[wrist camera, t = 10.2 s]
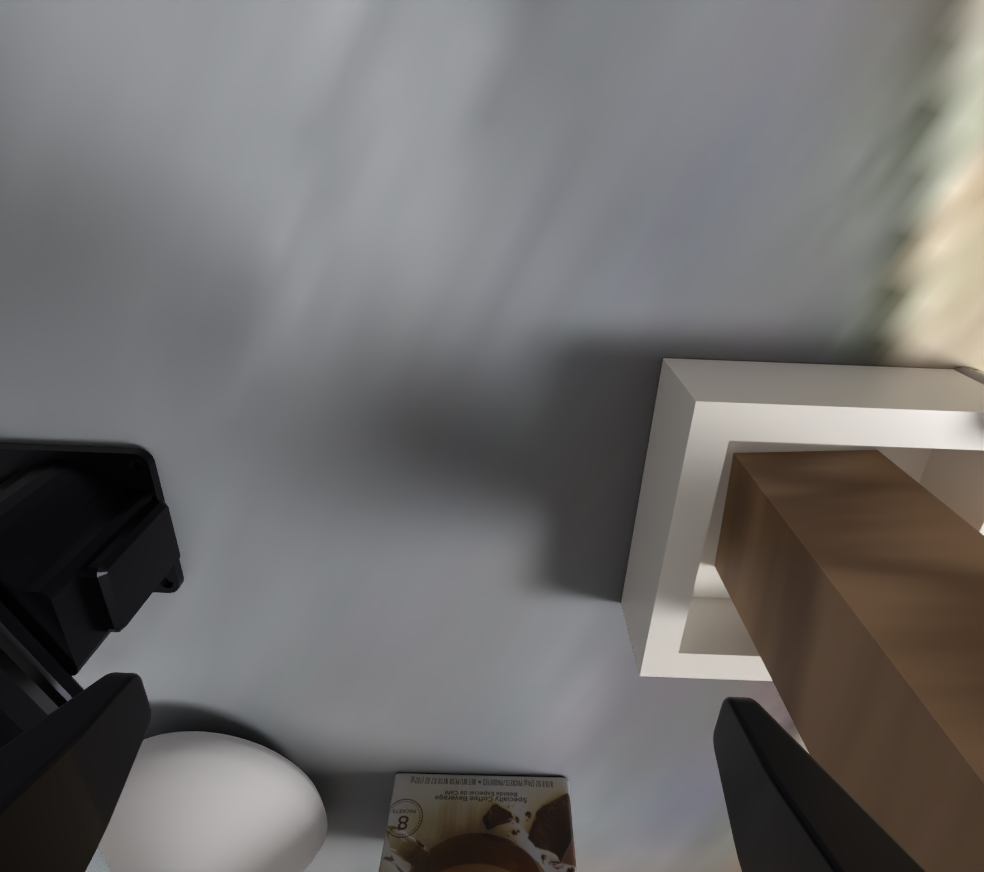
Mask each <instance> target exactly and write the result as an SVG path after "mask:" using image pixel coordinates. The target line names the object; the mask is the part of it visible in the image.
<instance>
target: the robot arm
mask: <svg viewBox="0 0 984 872" xmlns="http://www.w3.org/2000/svg"><path fill="white" fill-rule="evenodd" d="M135 460H138V461H139V462H140V463H141V464H142V466H139V465H138V464H136V462H135ZM179 558H180V553H179V548H178V544H177V540H176V536H175V532H174V528H173V524H172V520H171V516H170V512H169V508H168V506H167V505H166V503H165V500H164V496H163V492H162V488H161V484H160V480H159V476H158V472H157V468H156V464H155V460H154V458H153V456H152V455H151V454H150V453H149V452H147V451H145V450H143V449H135V448H109V447H83V446H57V445H31V444H5V443H0V872H85V871H86V869H87V867H88V865H89V863H90V861H91V859H92V857H93V855H94V853H95V851H96V849H97V847H98V845H99V843H100V841H101V839H102V837H103V835H104V833H105V831H106V829H107V826H108V824H109V822H110V820H111V817H112V815H113V813H114V810H115V808H116V805H117V803H118V800H119V798H120V795H121V793H122V791H123V788H124V786H125V783H126V781H127V778H128V776H129V773H130V771H131V768H132V766H133V764H134V761H135V759H136V756H137V754H138V751H139V749H140V746H141V744H142V741H143V739H144V737H145V734H146V732H147V729H148V727H149V723H150V719H151V708H150V705H149V701H148V698H147V695H146V692H145V689H144V686H143V682H142V679H141V677H140V676H139V675H137V674H135V673H117V672H116V673H110V674H107V675H105V676H104V677H102V678H101V679H99V680H98V681H96V682H95V683H93V684H92V685H90V686H89V687H88V688H86V689H85V690H84V689H83V688H82V687H81V686H80V685H79V683H78V682H77V681H76V680H75V679H74V678H73V677H72V676H74V675H76V674H77V673H78V672H79V671H80V669H81V668H82V667H83V666H84V664H85V663H86V662H87V661H88V659H89V658H90V657H91V656H92V655H93V653H94V652H95V651H96V650H97V648H98V647H99V646H100V645H101V643H102V642H103V641H104V640H105V638H106V637H107V636H108V635H109V633H110V632H120V631H121V630H122V629H123V628H124V627H126V626H127V624H128V623H129V622H130V621H131V619H132V618H133V617H134V615H135V614H136V613H137V612H138V610H139V609H140V608H141V606H142V605H143V604H144V603H145V601H146V600H147V599H148V598H149V596H150V595H151V594H152V592H161V593H172V592H175V591H177V590H178V588H179V587H180V586H181V584H182V583H183V581H184V577H183V573H182V569H181V565H180V561H179ZM167 579H169V580H171V581H169V580H167ZM713 743H714V750H715V755H716V760H717V764H718V769H719V774H720V778H721V783H722V787H723V792H724V797H725V801H726V806H727V811H728V815H729V820H730V825H731V829H732V834H733V839H734V843H735V847H736V851H737V855H738V859H739V862H740V866H741V869H742V872H926V871H925V870H924V869H923V868H922V867H921V866H920V865H919V864H918V863H917V862H916V861H915V860H914V859H913V858H912V857H911V856H910V855H909V854H908V853H907V852H906V851H905V850H904V849H903V848H902V847H901V846H900V845H899V844H898V843H897V842H896V841H895V840H894V839H893V838H892V837H891V836H890V835H889V834H888V833H887V832H886V831H885V830H884V829H883V828H882V827H881V826H880V825H879V824H878V823H877V822H876V821H875V820H874V819H873V818H872V817H871V816H870V815H869V814H868V813H867V812H866V811H865V810H864V809H863V808H862V807H861V806H860V805H859V804H858V803H857V802H856V801H855V800H854V799H853V798H852V797H851V796H850V795H849V794H848V793H847V792H846V791H845V790H844V789H843V788H842V787H841V786H840V785H839V784H838V783H837V782H836V781H835V780H834V779H833V778H832V777H831V776H830V775H829V774H828V773H827V772H826V771H825V770H824V769H823V768H822V767H821V766H820V765H819V764H818V763H817V762H816V761H815V760H814V759H813V758H812V757H811V756H810V755H809V754H808V753H807V752H806V751H805V750H804V749H803V748H802V747H801V746H800V745H799V744H798V743H797V742H796V741H795V740H794V739H793V738H792V737H791V736H790V735H789V734H788V733H787V732H786V731H785V730H784V729H783V728H782V727H781V726H780V725H779V724H778V723H777V722H776V721H775V720H774V719H773V717H772V716H771V715H770V714H769V713H768V712H767V711H766V710H765V709H764V708H763V707H762V706H761V705H760V704H759V703H757V702H756V701H755V700H753V699H751V698H742V697H727V698H726V699H725V700H724V701H723V703H722V706H721V710H720V713H719V716H718V720H717V723H716V726H715V730H714V735H713Z"/></svg>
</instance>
